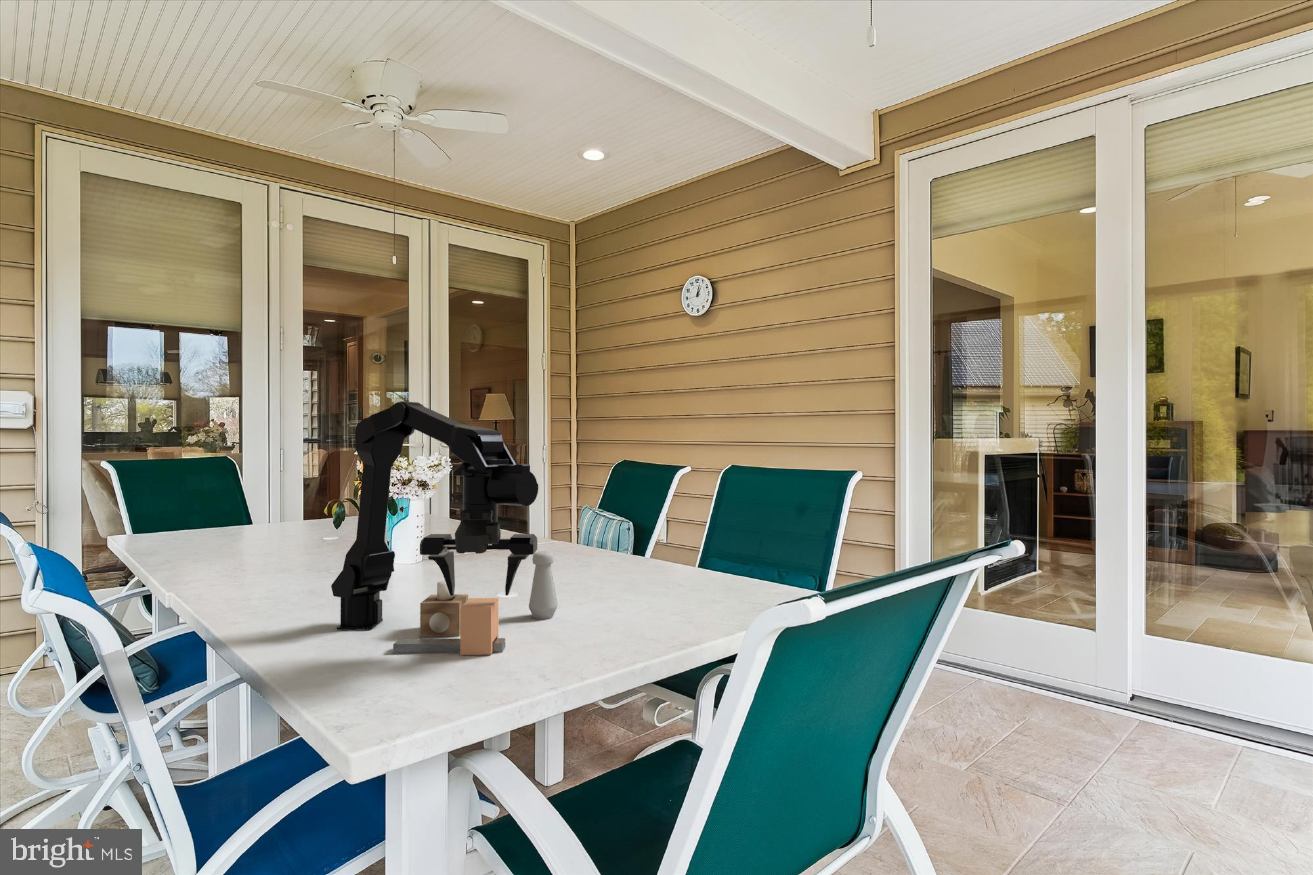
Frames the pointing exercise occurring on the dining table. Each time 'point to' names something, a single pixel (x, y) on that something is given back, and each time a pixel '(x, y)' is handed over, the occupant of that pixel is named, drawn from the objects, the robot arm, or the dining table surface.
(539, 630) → the dining table surface
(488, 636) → the block
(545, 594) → the salt shaker
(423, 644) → the rail
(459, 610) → the cabinet
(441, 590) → the plunger
